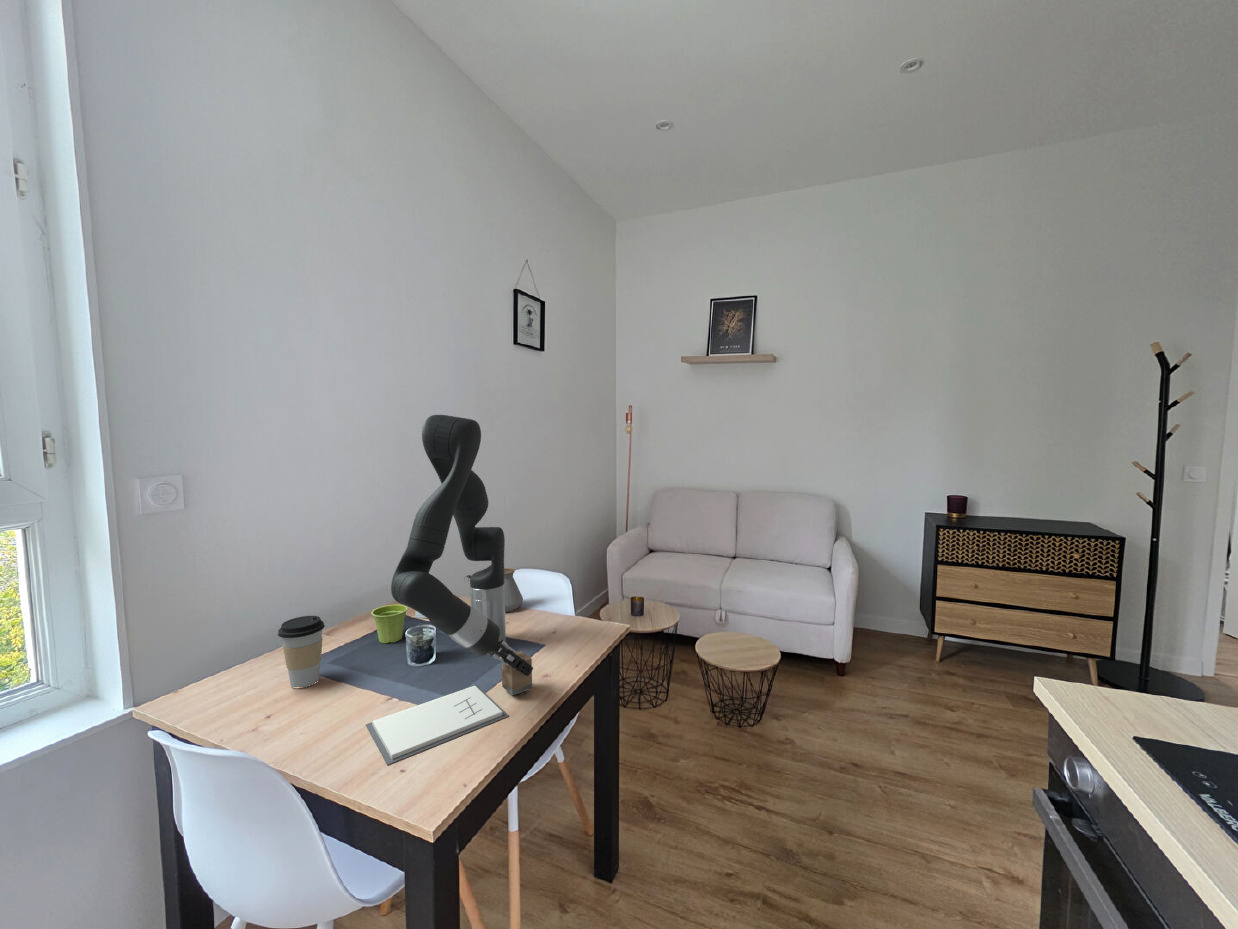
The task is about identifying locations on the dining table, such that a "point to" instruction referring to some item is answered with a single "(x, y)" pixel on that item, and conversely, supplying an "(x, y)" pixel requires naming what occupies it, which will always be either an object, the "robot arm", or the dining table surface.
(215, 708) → the dining table surface
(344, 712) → the dining table surface
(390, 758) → the board
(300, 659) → the coffee cup
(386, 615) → the plant pot
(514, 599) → the coffee pot
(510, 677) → the block
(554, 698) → the dining table surface
